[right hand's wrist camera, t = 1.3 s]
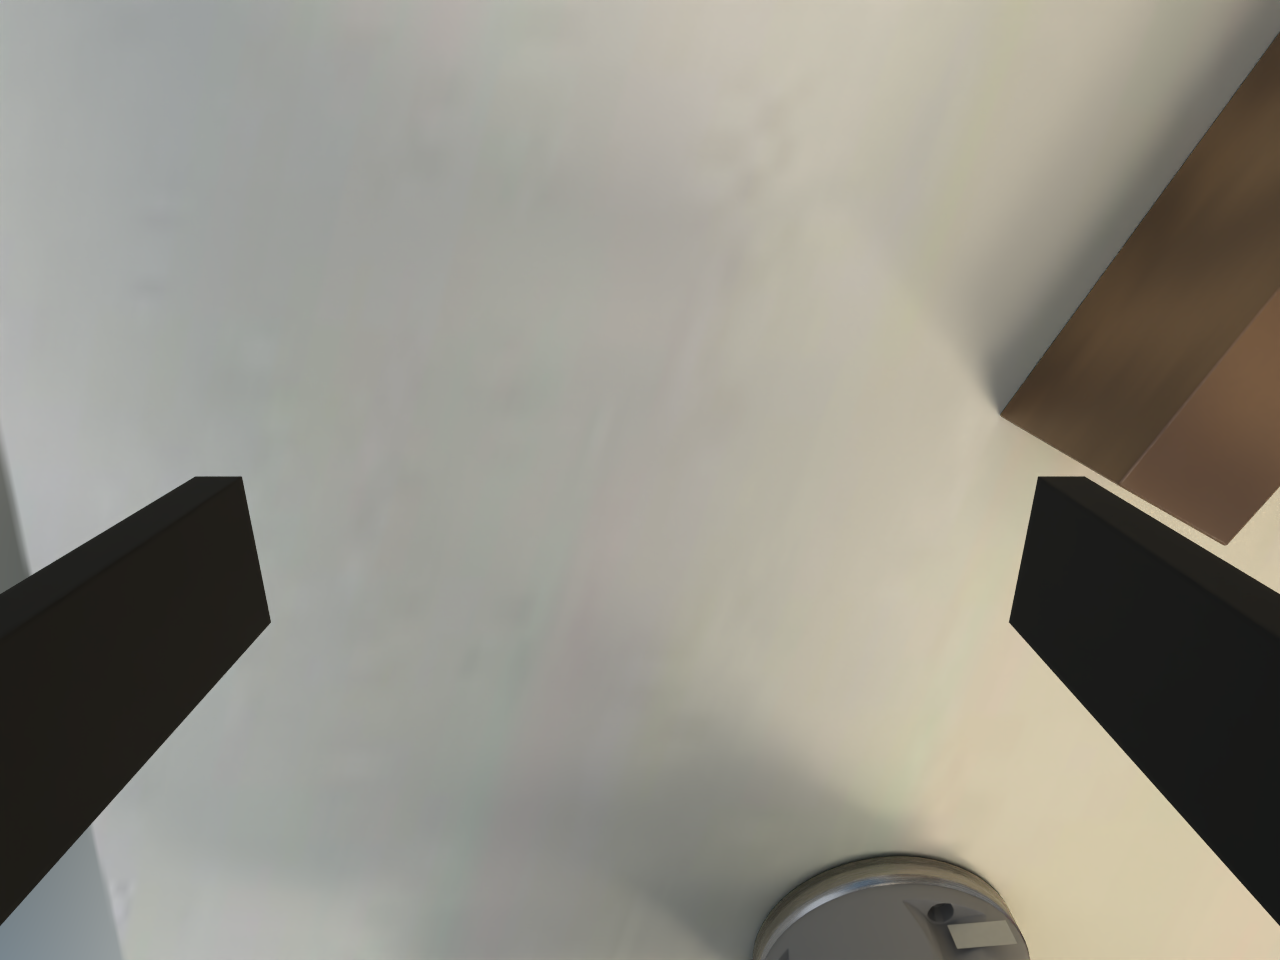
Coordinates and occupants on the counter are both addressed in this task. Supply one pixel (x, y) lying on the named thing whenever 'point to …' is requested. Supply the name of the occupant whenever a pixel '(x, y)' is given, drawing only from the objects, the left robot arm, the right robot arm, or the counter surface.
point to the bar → (1183, 335)
